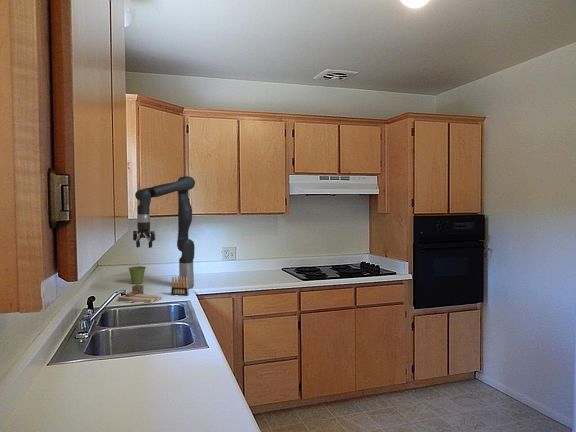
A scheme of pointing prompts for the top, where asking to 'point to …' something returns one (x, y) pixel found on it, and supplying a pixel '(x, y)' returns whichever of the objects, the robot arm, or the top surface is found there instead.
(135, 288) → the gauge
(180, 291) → the ammunition clip
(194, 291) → the top surface
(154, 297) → the board
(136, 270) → the plant pot
